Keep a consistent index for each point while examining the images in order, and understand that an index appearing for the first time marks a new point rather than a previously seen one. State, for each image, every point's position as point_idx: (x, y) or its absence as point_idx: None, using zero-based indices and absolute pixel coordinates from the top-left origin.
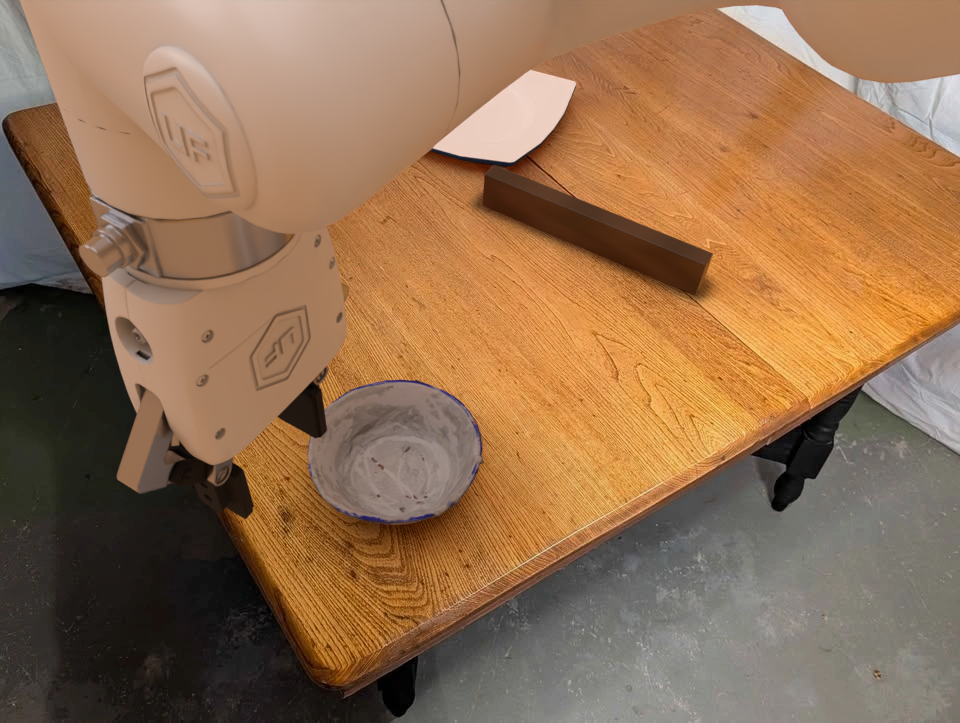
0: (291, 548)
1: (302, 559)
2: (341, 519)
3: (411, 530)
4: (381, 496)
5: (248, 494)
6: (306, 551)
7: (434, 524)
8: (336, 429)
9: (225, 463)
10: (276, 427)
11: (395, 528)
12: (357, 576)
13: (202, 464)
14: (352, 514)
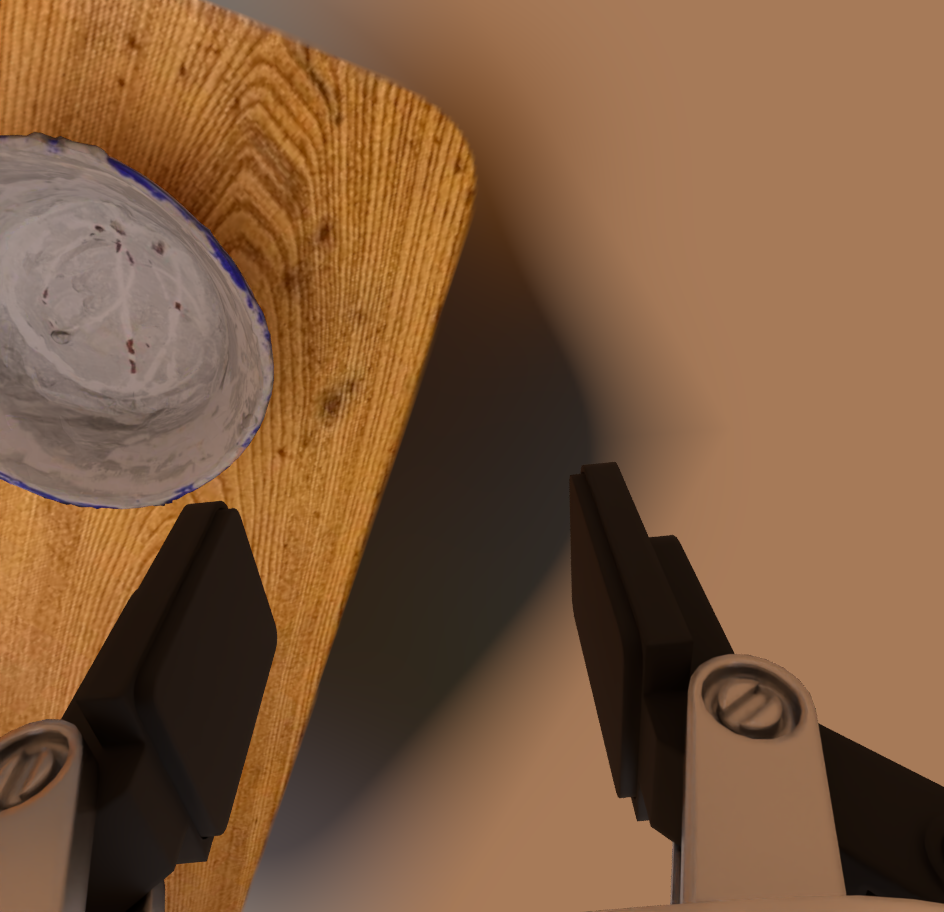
0: (368, 355)
1: (369, 326)
2: None
3: None
4: (173, 301)
5: (606, 528)
6: (353, 332)
7: None
8: (149, 462)
9: (738, 752)
10: None
11: None
12: (322, 223)
13: (843, 830)
14: (254, 306)
